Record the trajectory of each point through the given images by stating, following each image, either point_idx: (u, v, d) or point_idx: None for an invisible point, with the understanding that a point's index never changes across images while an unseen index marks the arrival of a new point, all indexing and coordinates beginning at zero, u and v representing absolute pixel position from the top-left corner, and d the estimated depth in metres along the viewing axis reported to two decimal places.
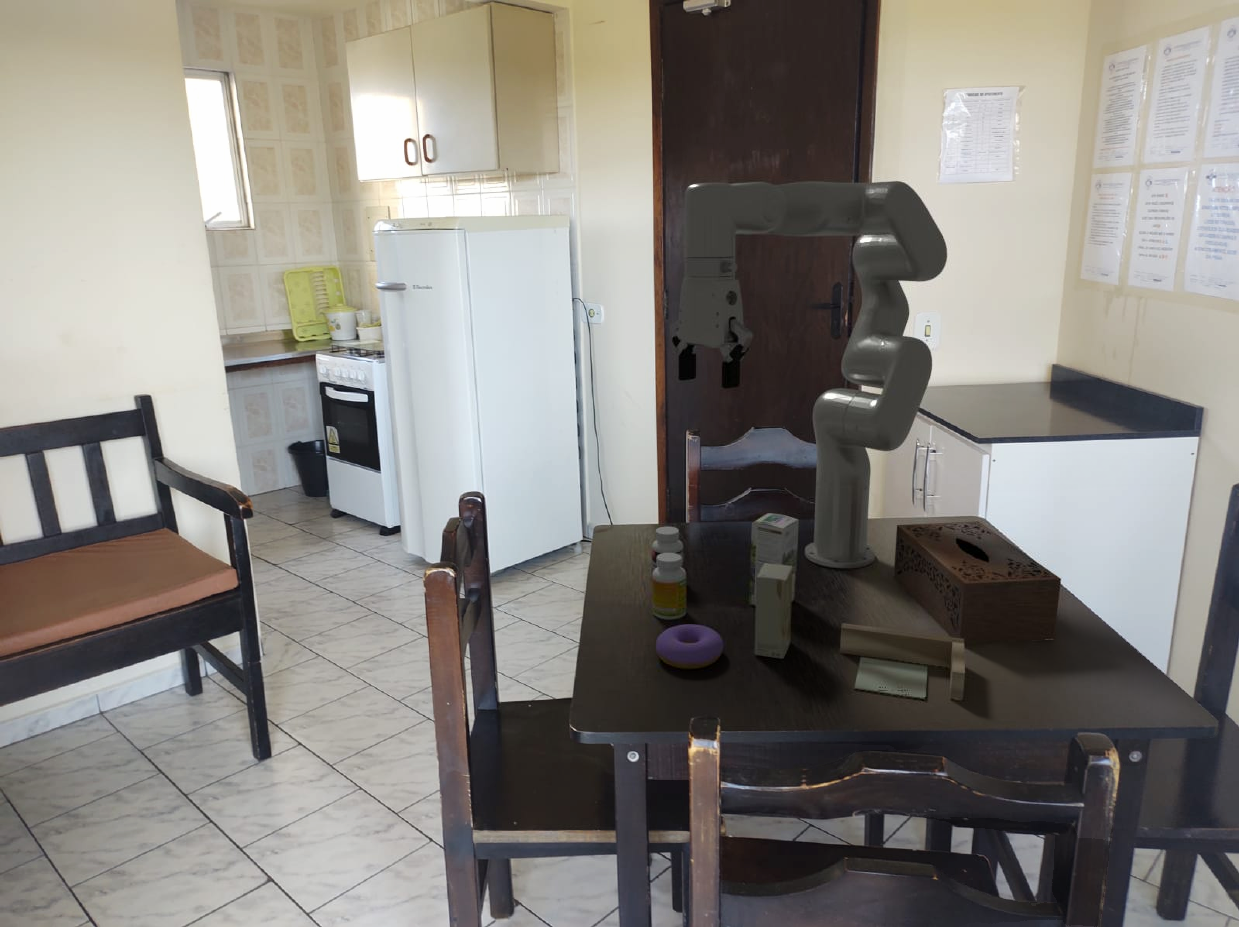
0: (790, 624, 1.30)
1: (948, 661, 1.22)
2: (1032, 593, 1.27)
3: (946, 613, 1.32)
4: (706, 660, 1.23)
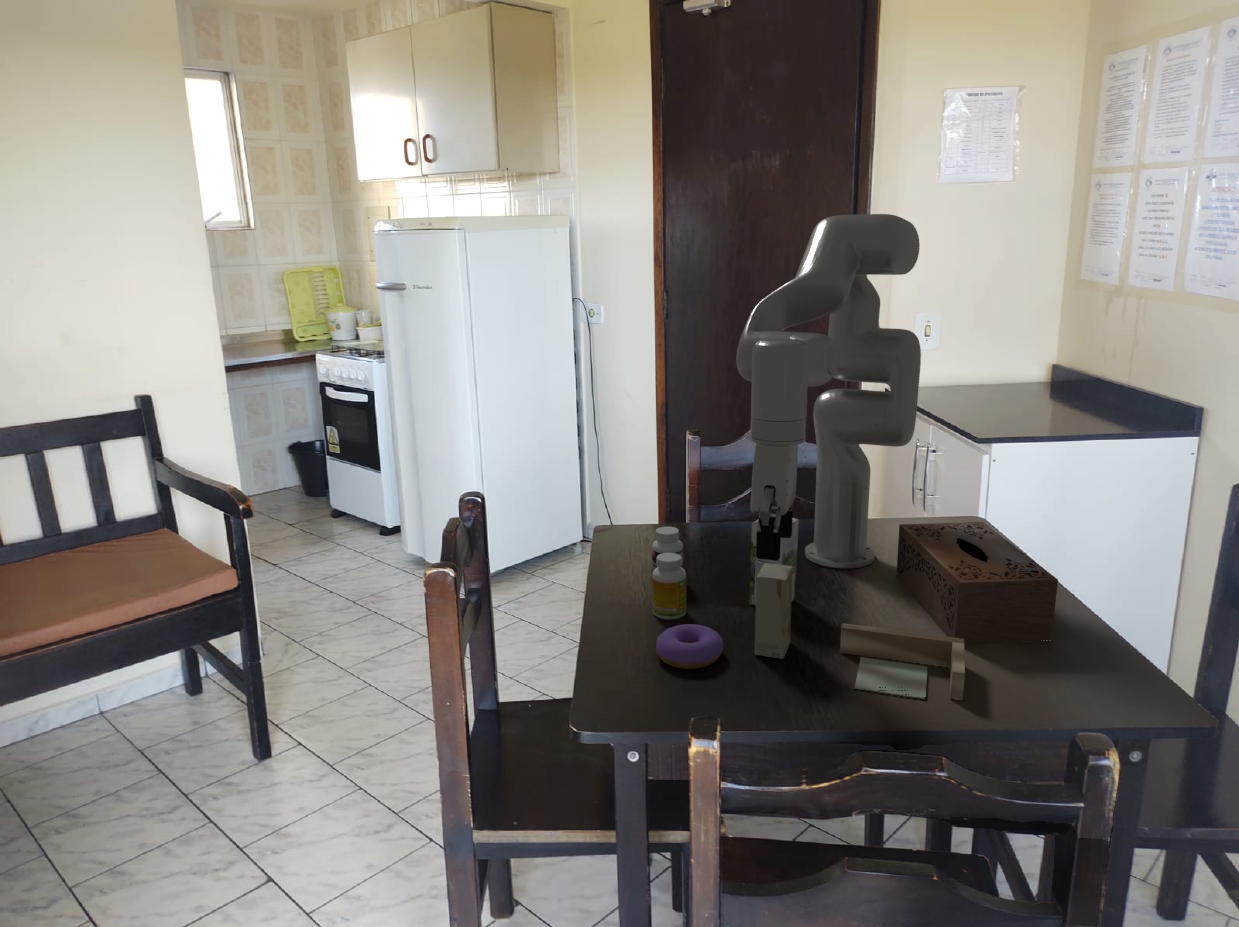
0: (790, 624, 1.30)
1: (948, 661, 1.22)
2: (1029, 593, 1.27)
3: (943, 612, 1.33)
4: (706, 660, 1.23)
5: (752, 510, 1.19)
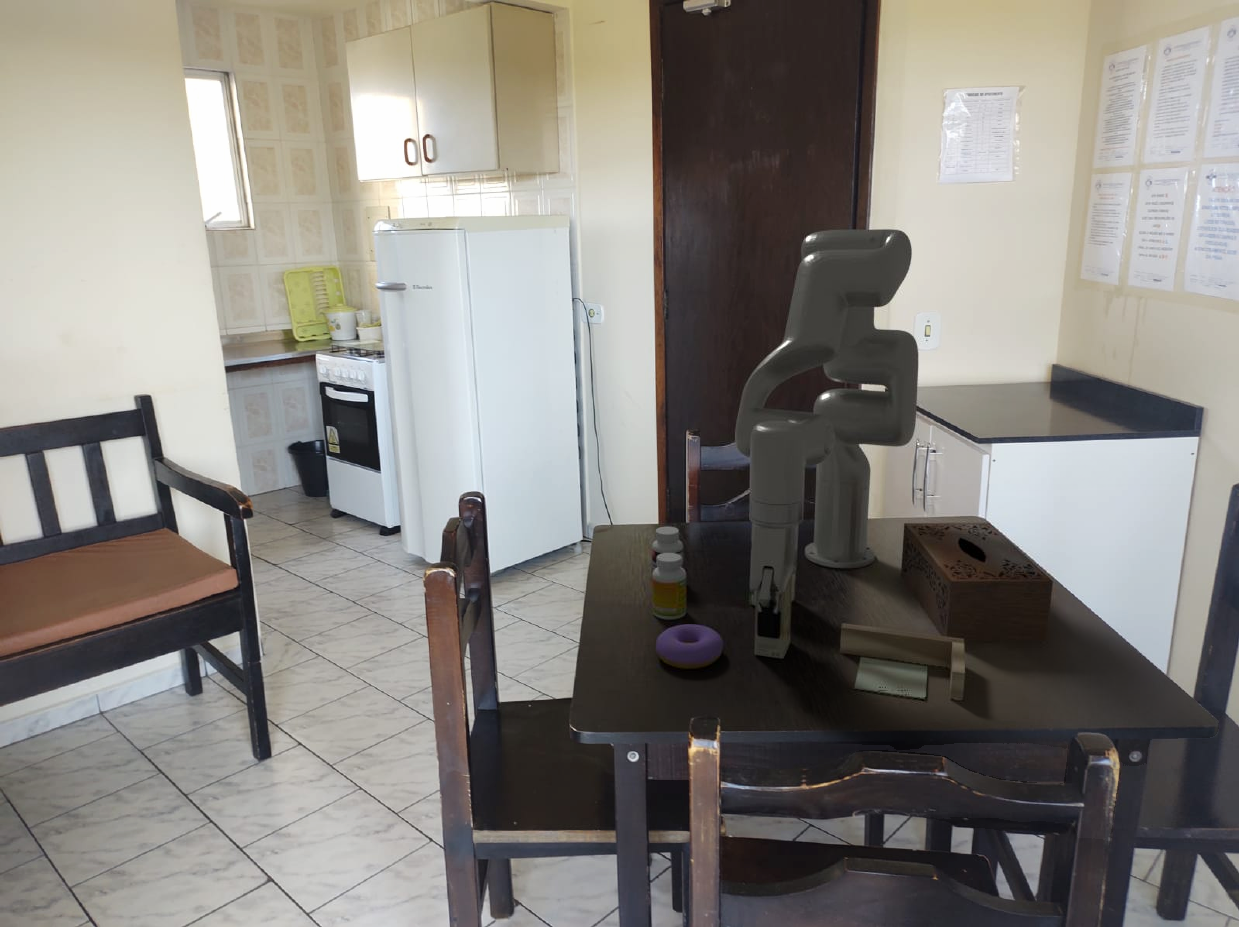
0: (790, 624, 1.30)
1: (948, 661, 1.22)
2: (1023, 594, 1.27)
3: (937, 611, 1.33)
4: (706, 660, 1.23)
5: (751, 589, 1.22)
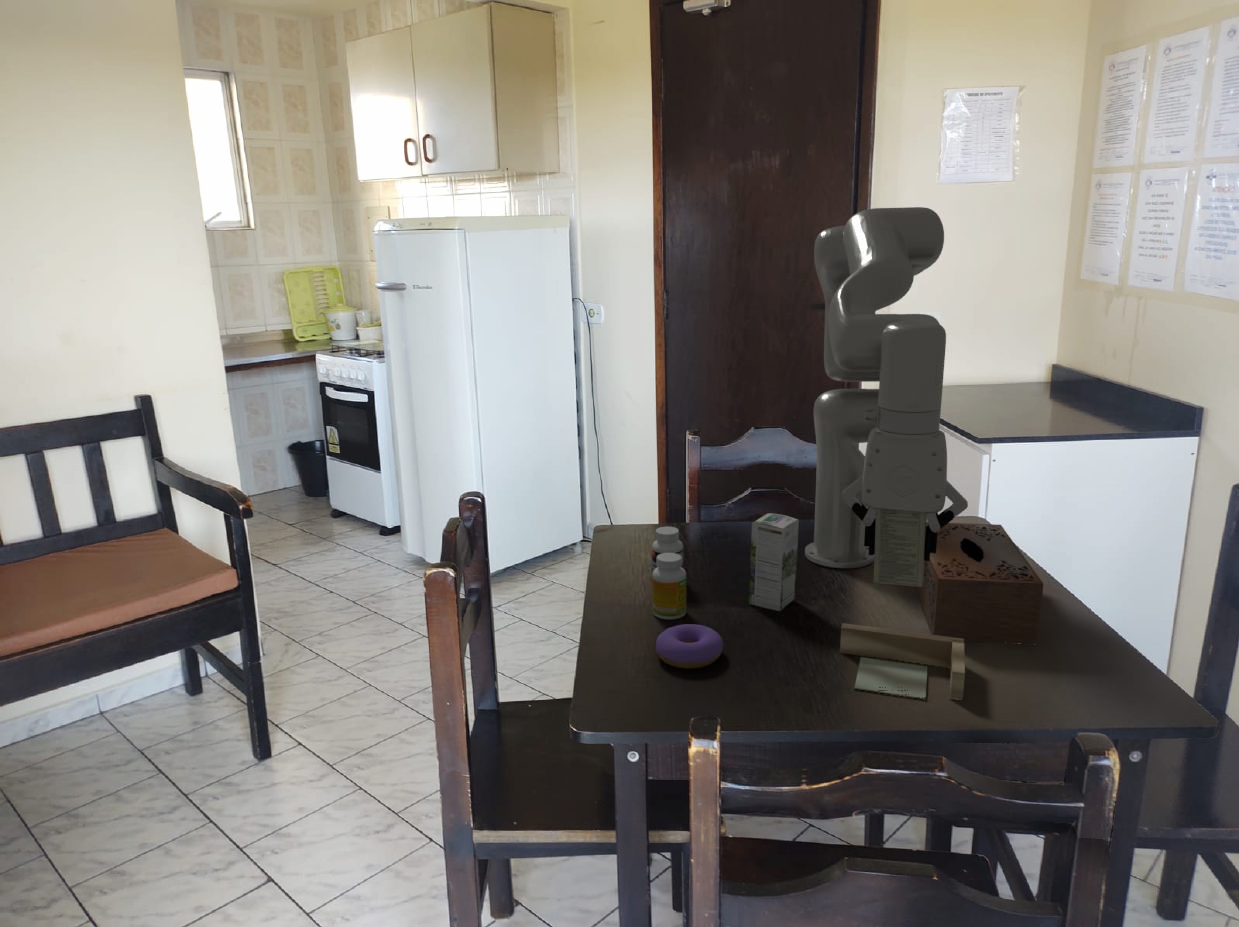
0: None
1: (948, 661, 1.22)
2: (1012, 595, 1.27)
3: (929, 608, 1.34)
4: (706, 659, 1.23)
5: (942, 508, 1.09)
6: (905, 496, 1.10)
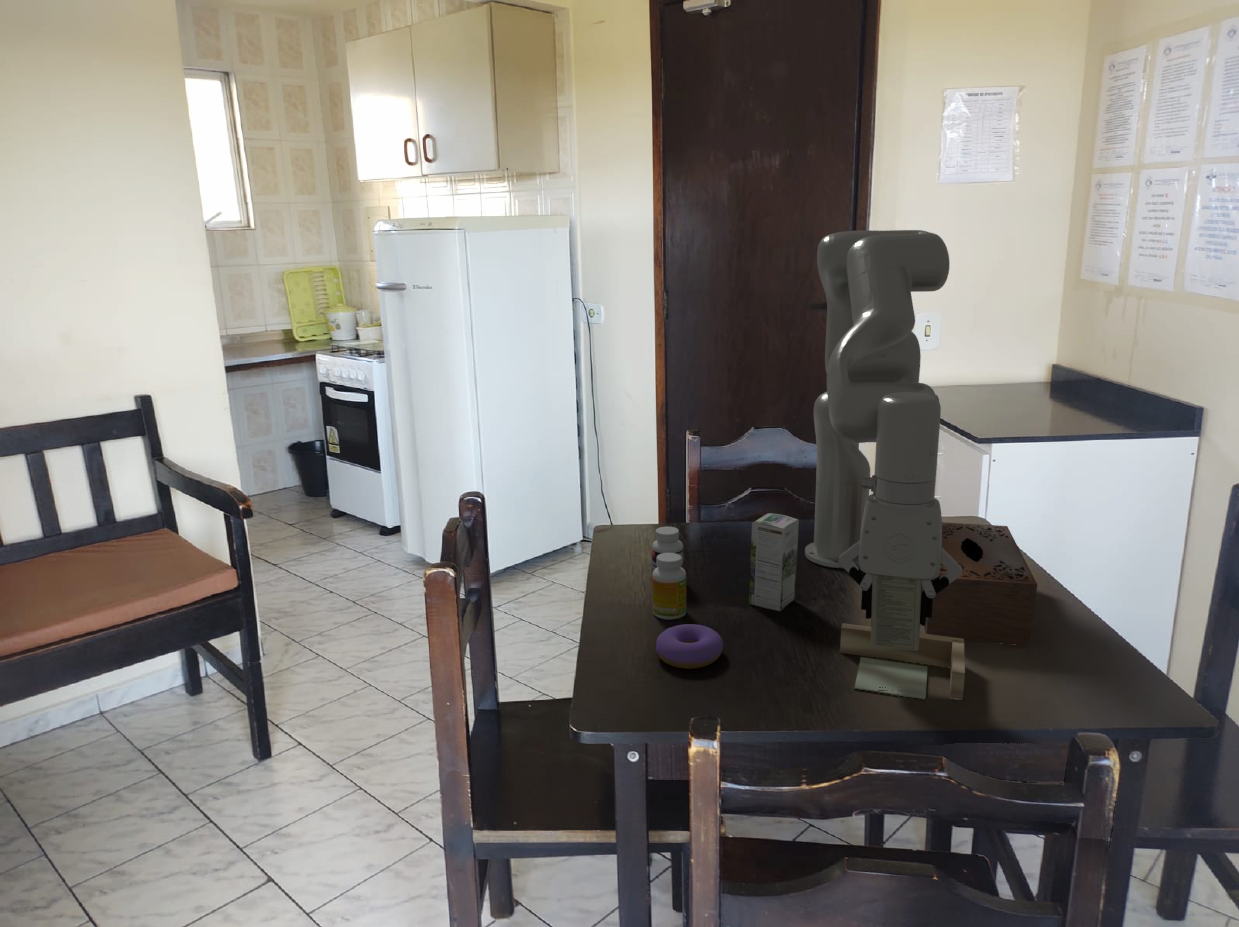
0: None
1: (948, 661, 1.22)
2: (1005, 595, 1.27)
3: None
4: (706, 660, 1.23)
5: (937, 575, 1.11)
6: (901, 563, 1.12)
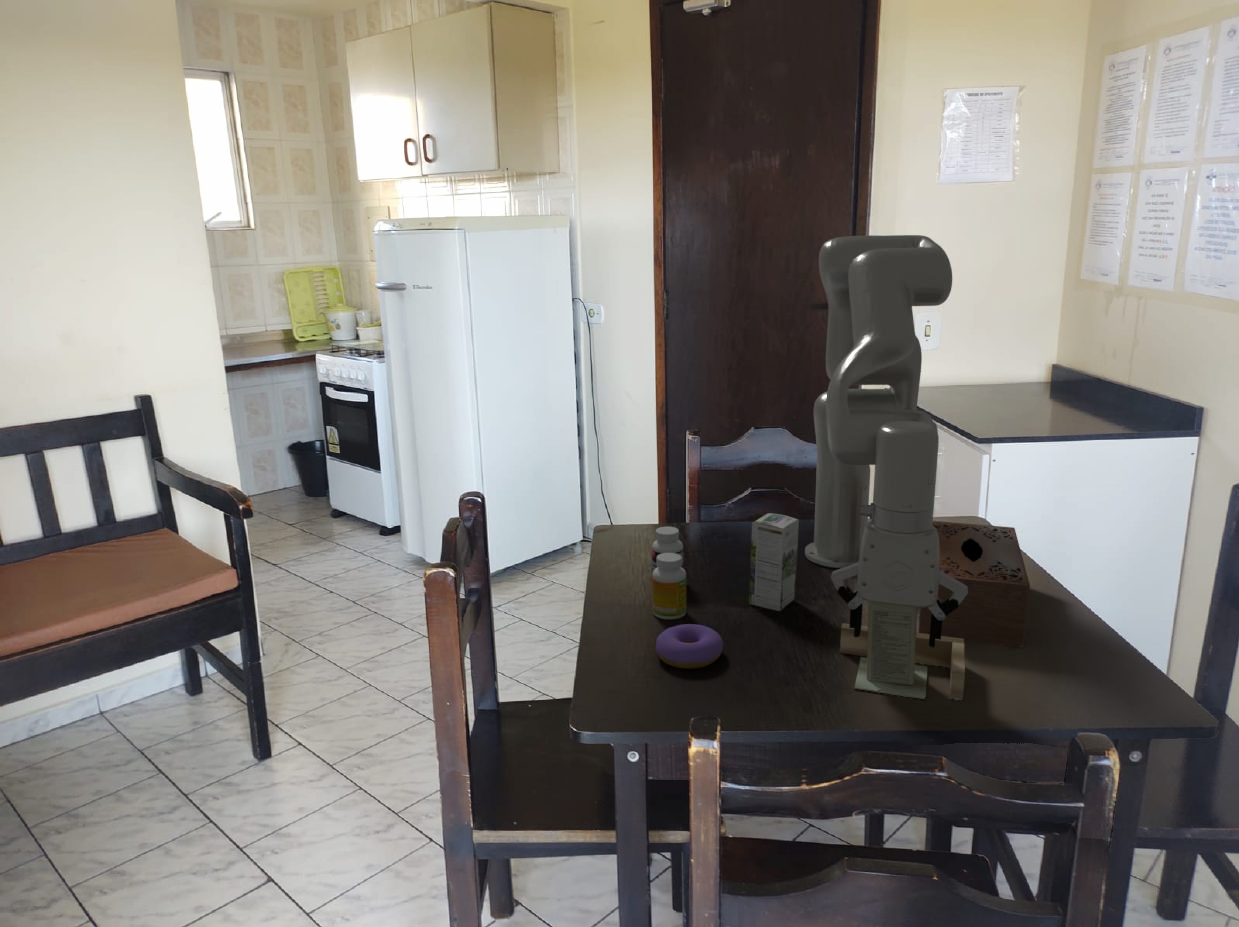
0: None
1: (948, 661, 1.22)
2: (998, 595, 1.27)
3: None
4: (706, 660, 1.23)
5: (935, 603, 1.12)
6: (899, 590, 1.13)
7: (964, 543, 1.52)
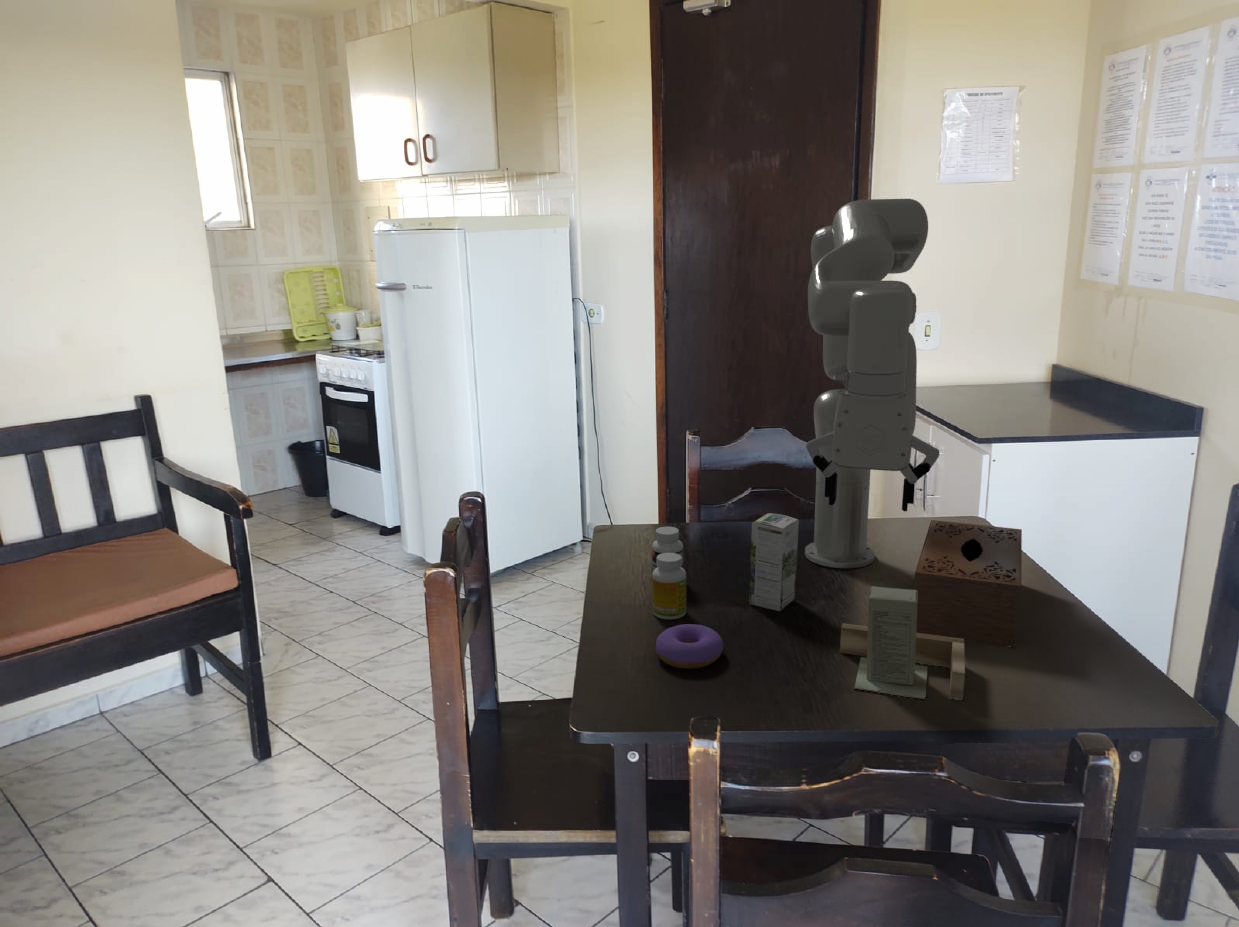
0: None
1: (948, 661, 1.22)
2: (989, 595, 1.27)
3: None
4: (706, 660, 1.23)
5: (907, 465, 1.15)
6: (872, 455, 1.16)
7: (971, 544, 1.51)
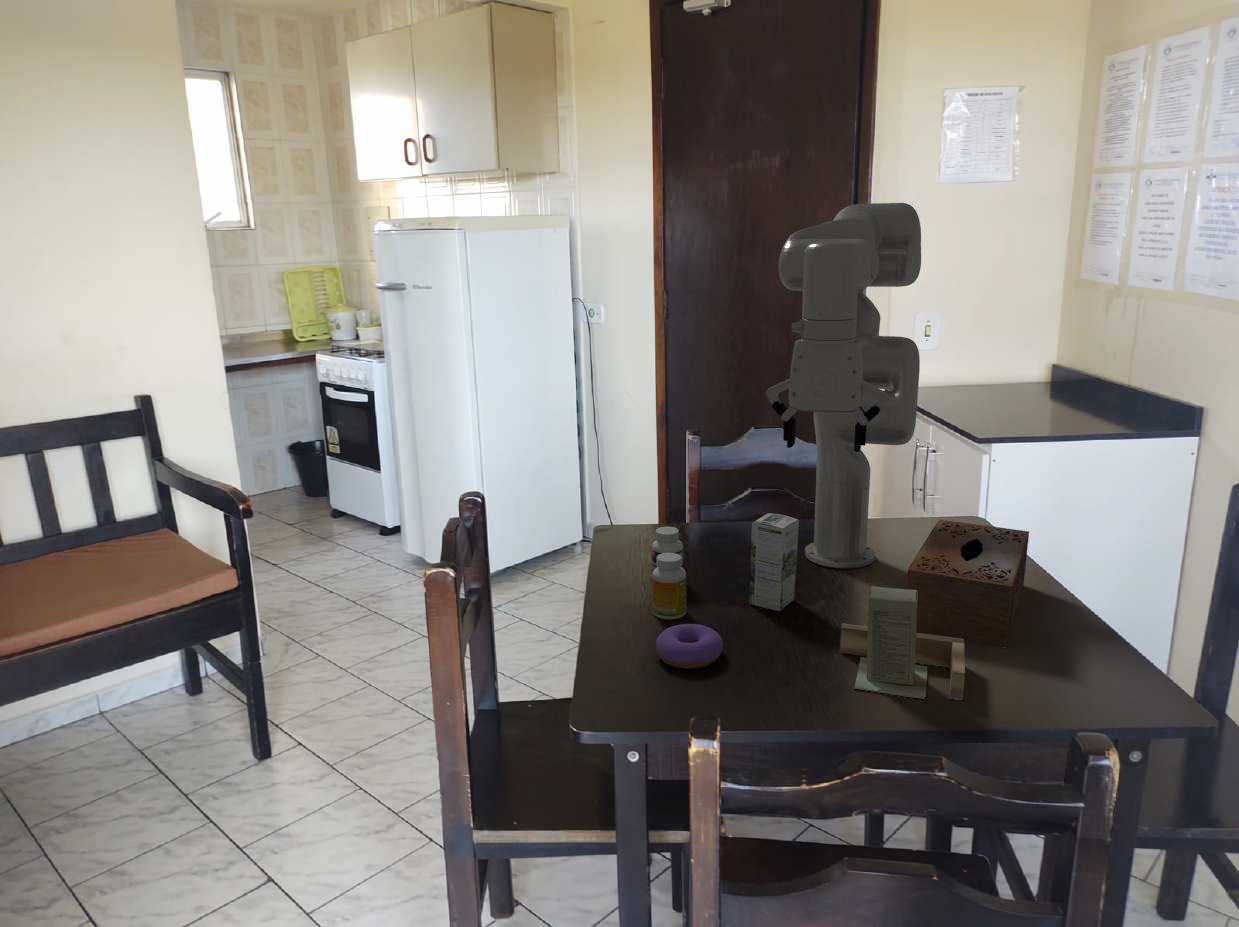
0: None
1: (948, 661, 1.22)
2: (981, 594, 1.27)
3: None
4: (706, 660, 1.23)
5: (858, 407, 1.23)
6: (825, 397, 1.24)
7: (978, 544, 1.51)
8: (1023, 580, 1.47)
